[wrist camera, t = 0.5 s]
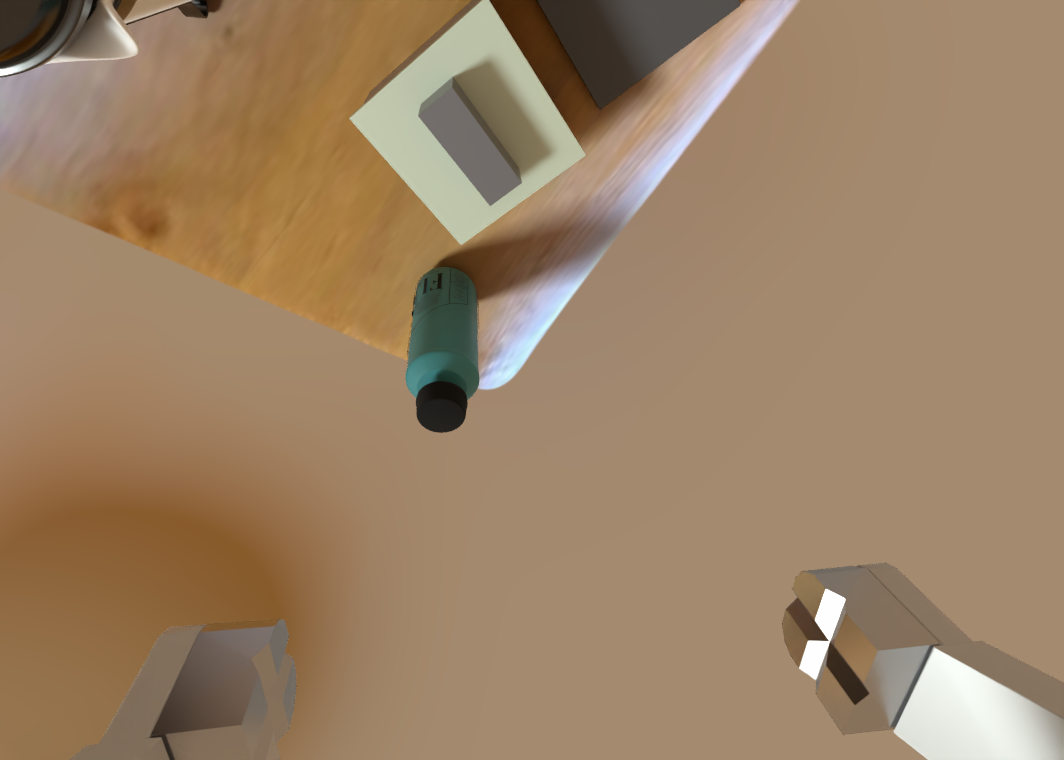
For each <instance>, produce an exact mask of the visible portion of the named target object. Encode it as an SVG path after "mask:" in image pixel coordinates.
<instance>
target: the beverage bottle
mask: <svg viewBox="0 0 1064 760" xmlns="http://www.w3.org/2000/svg"><path fill="white" fill-rule="evenodd" d="M420 279H421V280H420V281H419V283H418V284H417V285H418V286H417V290H416V296H415V294H414V303H413V312H412V316H413V322H412V323H411V325H412V326H411V327H412V330H411V338H409V340H410V345H409V346H410V347H409V346H408V348H409V352H408V351H407V352H408V353H409V357H408V368H407V371H406V384H407V387H408V389H409V391H411V393H412V394H413V395H414V396H415V397H416V407H417V418H418V421H419V422H420V424H421V425H422V426H423V427H425V428H426V429H428V430H430V431H433V432H441V433H442V432H449V431H452V430H454V429H457V428H458V427H459V426H460V425H461V424H462V423H463V422H464V419H465V416H466V409H467V400H468V399H469V398H470V397H471V396H472V395H473V394H474V393H475V392H476V390H477V388H478V385H479V372H478V346H477V333H478V329H479V328H478V327H477V317H478V316H477V315H478V314H477V312H478V311H477V306H478V305H477V303H478V302H477V294H476V288H475V286H474V284H473V282H472V281H471V279H470V278H469V277H468V276H467V275H466V274H465V273H464V272H462V271H460V270H458V269H455V268H451V267H439V268H435V269H432V270H430V271H429V272H427V273H426V274H425V275H423V276H422V277H421V278H420ZM415 288H416V287H415ZM414 304H415V306H414ZM478 308H479V306H478ZM478 322H479V321H478ZM409 334H410V333H409ZM478 338H479V337H478ZM408 343H409V342H408ZM408 353H407V355H408Z"/></svg>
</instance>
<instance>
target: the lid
mask: <svg viewBox="0 0 1064 760" xmlns="http://www.w3.org/2000/svg"><path fill="white" fill-rule="evenodd" d="M349 119H350V120H351V121H352V122H353V123H354V125H355V126H356V127H357V128H358V129H359V130H360V131H361V132H362V134H363V135H364V136H365V137H366V138H367V139H368V140H369V141H370V143H371V144H372V145H373V146H374V147H375V148H376V149H377V151H378V152H379V153H380V154H381V155H382V156H383V157H384V158H385V160H386V161H387V162H388V163H389V164H390V165H391V166H392V167H393V169H394V170H395V171H396V172H397V173H398V174H399V175H400V177H401V178H402V179H403V180H404V181H405V182H406V183H407V184H408V186H409V187H410V188H411V189H412V190H413V191H414V192H415V194H416V195H417V196H418V197H419V198H420V199H421V200H422V201H423V203H424V204H425V205H426V206H427V207H428V208H429V209H430V210H431V212H432V213H433V214H434V215H435V216H436V217H437V218H438V220H439V221H440V222H441V223H442V224H443V225H444V226H445V227H446V229H447V230H448V231H449V232H450V233H451V234H452V235H453V237H454V238H455V239H456V240H457V241H458V242H459V243H460V244H461V245H462V244H463V243H465V242H466V241H468V240H469V239H470V238H472V237H473V236H475V235H476V234H477V233H479V232H480V231H482V230H483V229H484V228H486V227H487V226H488V225H490V224H491V223H493V222H494V221H495V220H497V219H498V218H500V217H501V216H502V215H504V214H505V213H507V212H508V211H509V210H511V209H512V208H513V207H515V206H516V205H518V204H519V203H520V202H522V201H523V200H525V199H526V198H527V197H529V196H530V195H531V194H533V193H534V192H536V191H537V190H538V189H540V188H541V187H543V186H544V185H545V184H547V183H548V182H550V181H551V180H552V179H554V178H555V177H556V176H558V175H559V174H561V173H562V172H563V171H565V170H566V169H568V168H569V167H570V166H572V165H573V164H575V163H576V162H577V161H579V160H580V159H581V158H583V157H584V156H586V154H585V152H584V151H583V149H582V147H581V146H580V144H579V143H578V141H577V139H576V138H575V136H574V135H573V133H572V131H571V130H570V128H569V127H568V125H567V123H566V122H565V120H564V119H563V117H562V115H561V114H560V112H559V111H558V109H557V107H556V106H555V104H554V103H553V101H552V99H551V98H550V96H549V95H548V93H547V91H546V90H545V88H544V87H543V85H542V83H541V82H540V80H539V79H538V77H537V75H536V74H535V72H534V71H533V69H532V67H531V66H530V64H529V63H528V61H527V59H526V58H525V56H524V55H523V53H522V51H521V50H520V48H519V47H518V45H517V43H516V42H515V40H514V39H513V37H512V35H511V34H510V32H509V31H508V29H507V27H506V26H505V24H504V23H503V21H502V19H501V18H500V16H499V15H498V13H497V11H496V10H495V8H494V7H493V5H492V3H491V2H490V0H480V1H479V2H478V3H477V4H476V5H475V6H473V7H472V8H471V9H470V10H469V11H468V12H467V13H466V14H464V15H463V16H462V17H461V18H460V19H459V20H458V21H457V22H455V23H454V24H453V25H452V26H451V27H450V28H449V29H448V30H446V31H445V32H444V33H443V34H442V35H441V36H440V37H439V38H437V39H436V40H435V41H434V42H433V43H432V44H431V45H430V46H428V47H427V48H426V49H425V50H424V51H423V52H422V53H421V54H419V55H418V56H417V57H416V58H415V59H414V60H413V61H412V62H411V63H409V64H408V65H407V66H406V67H405V68H404V69H403V70H402V71H400V72H399V73H398V74H397V75H396V76H395V77H394V78H393V79H391V80H390V81H389V82H388V83H387V84H386V85H385V86H384V87H382V88H381V89H380V90H379V91H378V92H377V93H376V94H375V95H373V96H372V97H371V98H370V99H369V100H368V101H367V102H366V103H364V104H363V105H362V106H361V107H360V108H359V109H358V110H357V111H355V112H354V113H353V114H352V115H351V116H350V118H349Z"/></svg>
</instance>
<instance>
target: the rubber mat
mask: <svg viewBox="0 0 1064 760" xmlns="http://www.w3.org/2000/svg"><path fill="white" fill-rule="evenodd" d="M537 1H538V3H539V5H540V6H541V8H542V10H543V12H544V13H545V15H546V17H547V19H548V20H549V22H550V24H551V25H552V27H553V29H554V31H555V32H556V34H557V36H558V38H559V39H560V41H561V43H562V45H563V46H564V48H565V50H566V52H567V53H568V55H569V57H570V59H571V60H572V62H573V64H574V65H575V67H576V69H577V71H578V72H579V74H580V76H581V78H582V79H583V81H584V83H585V85H586V86H587V88H588V90H589V92H590V93H591V95H592V97H593V98H594V100H595V102H596V104H597V105H598V107H599V109H600V110H601V109H602V108H603V107H605V106H606V105H607V104H609V103H610V102H611V101H613V100H614V99H615V98H617V97H618V96H619V95H621V94H622V93H623V92H625V91H626V90H627V89H629V88H630V87H631V86H633V85H634V84H635V83H637V82H638V81H639V80H641V79H642V78H643V77H645V76H646V75H648V74H649V73H650V72H652V71H653V70H654V69H656V68H657V67H658V66H660V65H661V64H662V63H664V62H665V61H666V60H668V59H669V58H670V57H672V56H673V55H674V54H676V53H677V52H678V51H680V50H681V49H682V48H684V47H685V46H686V45H688V44H689V43H691V42H692V41H693V40H695V39H696V38H697V37H699V36H700V35H701V34H703V33H704V32H705V31H707V30H708V29H709V28H711V27H712V26H713V25H715V24H716V23H717V22H719V21H720V20H721V19H723V18H724V17H725V16H727V15H728V14H729V13H731V12H732V11H733V10H735V9H736V8H738V7H739V6H740V3H739V0H537Z"/></svg>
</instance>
